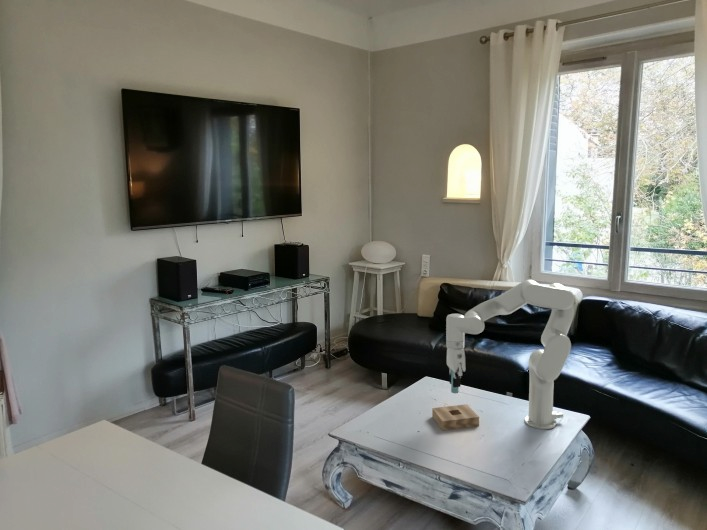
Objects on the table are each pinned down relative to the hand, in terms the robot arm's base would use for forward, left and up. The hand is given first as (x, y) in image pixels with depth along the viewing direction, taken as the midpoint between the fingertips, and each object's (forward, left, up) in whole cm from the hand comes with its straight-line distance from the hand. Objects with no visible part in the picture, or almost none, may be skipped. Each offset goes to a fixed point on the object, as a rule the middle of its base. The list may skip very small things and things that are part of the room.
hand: (454, 384), depth 228 cm
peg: (0, 0, -3) cm, 3 cm away
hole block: (0, 0, -16) cm, 16 cm away
